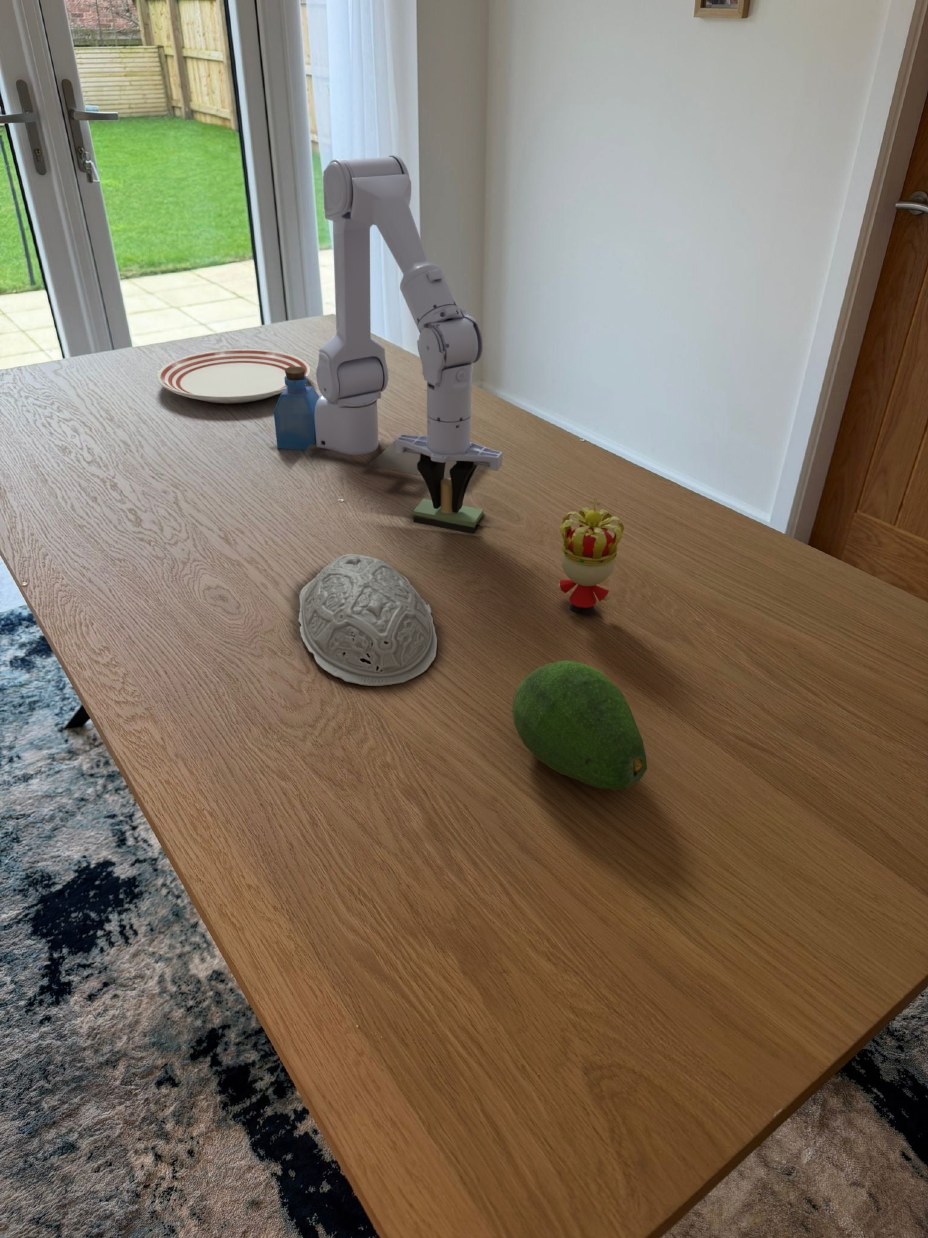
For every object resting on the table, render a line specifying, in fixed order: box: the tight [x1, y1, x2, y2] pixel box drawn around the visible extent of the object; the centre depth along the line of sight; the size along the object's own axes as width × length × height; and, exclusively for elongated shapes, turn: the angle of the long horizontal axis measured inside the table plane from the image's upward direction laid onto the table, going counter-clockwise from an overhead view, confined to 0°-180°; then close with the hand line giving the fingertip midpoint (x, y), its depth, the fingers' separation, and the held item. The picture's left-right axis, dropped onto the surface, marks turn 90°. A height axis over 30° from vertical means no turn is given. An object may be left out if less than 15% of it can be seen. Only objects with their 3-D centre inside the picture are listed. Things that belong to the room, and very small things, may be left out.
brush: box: [412, 478, 485, 534], centre depth 123 cm, size 9×4×6 cm, turn 71°
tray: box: [368, 439, 482, 479], centre depth 139 cm, size 16×12×1 cm
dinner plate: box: [156, 348, 311, 404], centre depth 165 cm, size 27×27×3 cm
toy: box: [557, 497, 625, 616], centre depth 103 cm, size 7×7×15 cm
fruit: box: [511, 659, 648, 791], centre depth 83 cm, size 15×10×10 cm, turn 28°
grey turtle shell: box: [298, 553, 438, 687], centre depth 103 cm, size 16×25×7 cm, turn 16°
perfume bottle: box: [273, 366, 320, 451], centre depth 143 cm, size 6×6×12 cm
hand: (447, 507), depth 124 cm, fingers closed on brush, 2 cm apart
